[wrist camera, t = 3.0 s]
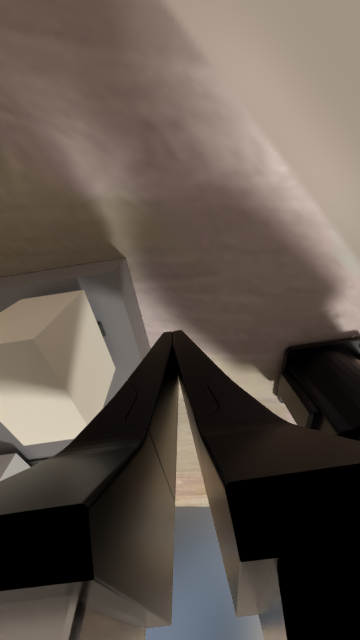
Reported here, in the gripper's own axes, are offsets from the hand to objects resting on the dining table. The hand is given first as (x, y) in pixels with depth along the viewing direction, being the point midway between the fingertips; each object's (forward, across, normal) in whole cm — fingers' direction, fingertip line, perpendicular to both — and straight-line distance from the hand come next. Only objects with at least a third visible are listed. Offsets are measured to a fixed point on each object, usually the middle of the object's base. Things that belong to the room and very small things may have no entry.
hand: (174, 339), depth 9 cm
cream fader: (+1, +5, 0) cm, 6 cm away
